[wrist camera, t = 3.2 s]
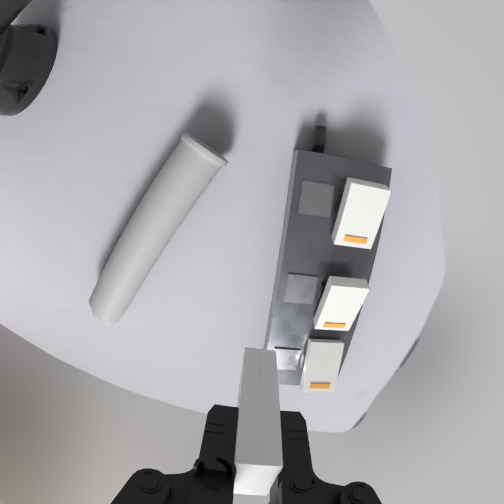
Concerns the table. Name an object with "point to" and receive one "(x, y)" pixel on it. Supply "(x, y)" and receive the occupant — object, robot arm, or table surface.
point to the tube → (154, 225)
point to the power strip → (314, 253)
